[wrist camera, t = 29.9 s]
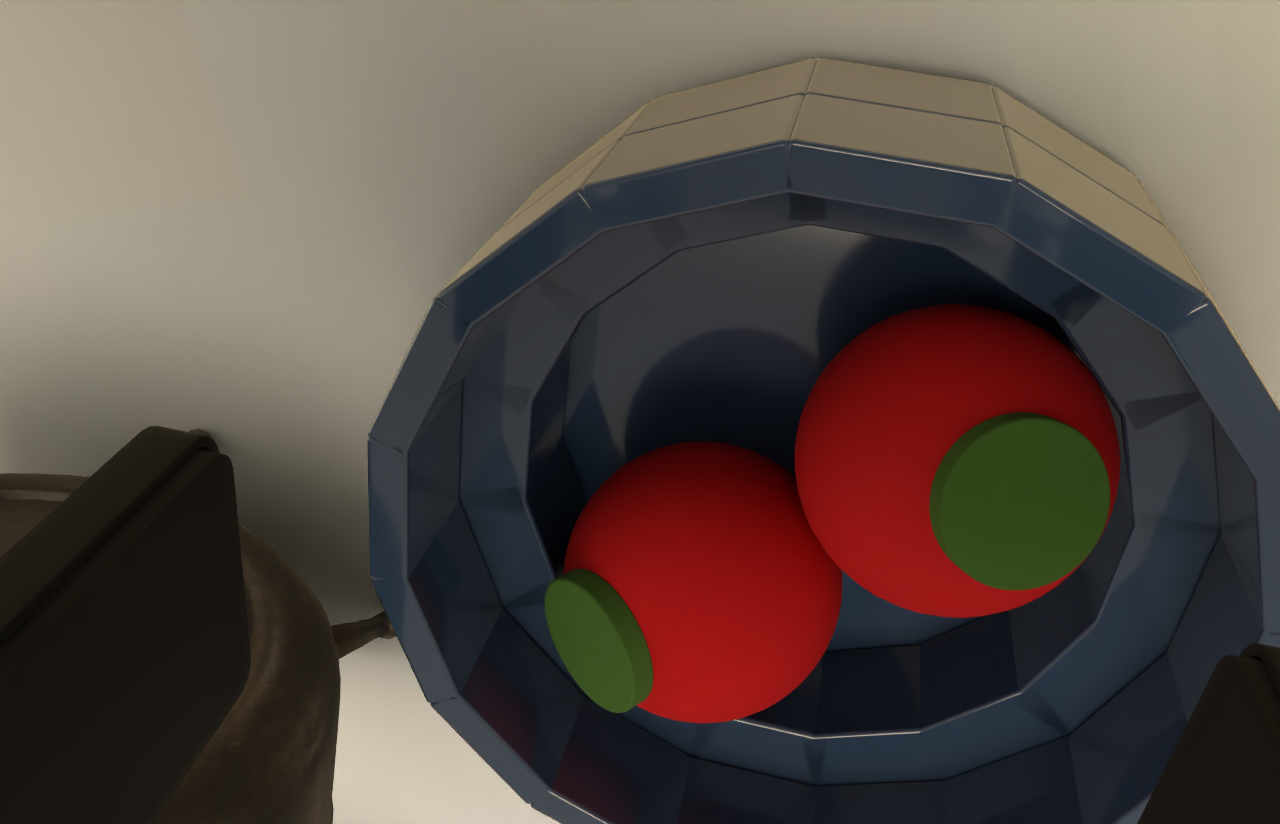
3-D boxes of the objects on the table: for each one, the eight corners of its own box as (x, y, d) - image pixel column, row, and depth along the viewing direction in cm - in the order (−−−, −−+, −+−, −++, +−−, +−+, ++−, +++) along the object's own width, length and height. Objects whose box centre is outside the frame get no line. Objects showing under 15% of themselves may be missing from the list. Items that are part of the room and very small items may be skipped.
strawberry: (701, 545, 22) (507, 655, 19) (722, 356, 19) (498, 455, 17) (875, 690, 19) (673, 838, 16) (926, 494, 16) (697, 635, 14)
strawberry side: (837, 604, 18) (945, 737, 14) (714, 377, 17) (790, 444, 13) (1067, 472, 18) (1245, 562, 14) (958, 237, 17) (1115, 258, 13)
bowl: (472, 617, 23) (372, 806, 19) (498, -2, 17) (357, 67, 13) (1079, 756, 21) (1122, 997, 17) (1351, 129, 15) (1523, 260, 11)
